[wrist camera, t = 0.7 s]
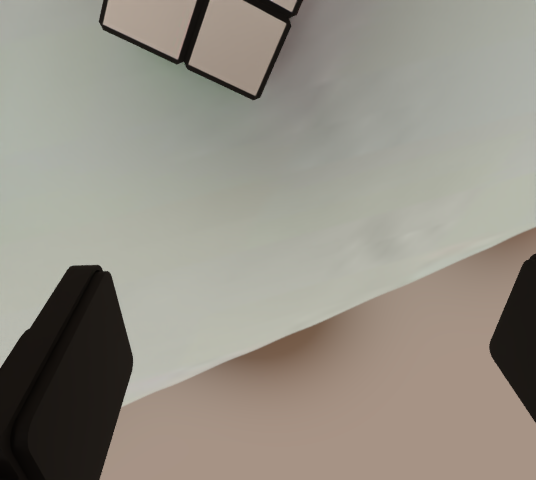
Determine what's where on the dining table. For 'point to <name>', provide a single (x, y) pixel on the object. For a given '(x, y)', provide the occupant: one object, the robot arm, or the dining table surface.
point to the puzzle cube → (208, 35)
